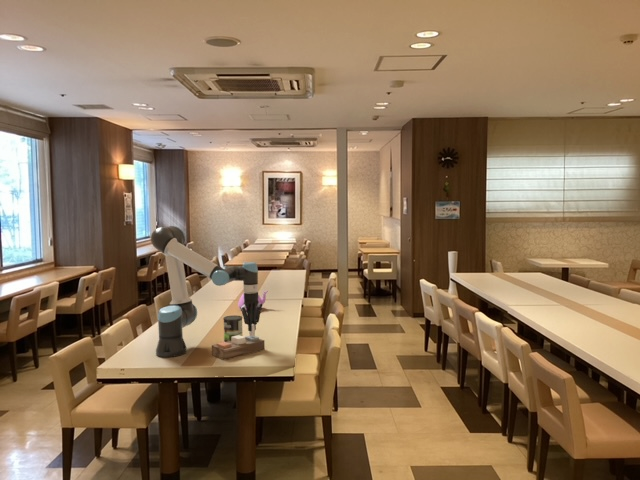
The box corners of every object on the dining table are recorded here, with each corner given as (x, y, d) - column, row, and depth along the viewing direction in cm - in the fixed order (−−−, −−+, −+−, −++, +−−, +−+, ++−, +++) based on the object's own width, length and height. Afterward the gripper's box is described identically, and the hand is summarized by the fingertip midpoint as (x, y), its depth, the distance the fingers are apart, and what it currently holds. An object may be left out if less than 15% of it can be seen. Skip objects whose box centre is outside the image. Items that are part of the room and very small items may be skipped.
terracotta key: (217, 349, 252) (216, 343, 252) (224, 347, 255) (224, 341, 255) (223, 351, 247) (223, 345, 247) (231, 349, 250) (231, 344, 250)
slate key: (245, 342, 263) (245, 336, 263) (252, 340, 266) (252, 335, 266) (251, 344, 259) (251, 339, 259) (259, 343, 262) (258, 337, 262)
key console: (212, 354, 253) (211, 345, 253) (251, 345, 270) (251, 336, 269) (224, 360, 245) (224, 350, 244) (264, 349, 261) (264, 340, 260)
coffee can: (231, 346, 268) (230, 320, 267) (220, 342, 275) (219, 317, 274) (246, 342, 275) (246, 317, 274) (235, 339, 282) (235, 314, 281)
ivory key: (231, 342, 257) (231, 336, 257) (238, 340, 260) (238, 335, 260) (237, 344, 253) (237, 339, 253) (245, 343, 256) (245, 337, 256)
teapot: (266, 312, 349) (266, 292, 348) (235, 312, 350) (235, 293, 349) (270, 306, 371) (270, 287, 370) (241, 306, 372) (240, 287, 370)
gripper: (244, 294, 253) (245, 340, 255) (265, 291, 262) (266, 335, 264) (236, 292, 259) (237, 337, 261) (257, 289, 268) (258, 333, 269)
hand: (252, 336), depth 262 cm, fingers closed
